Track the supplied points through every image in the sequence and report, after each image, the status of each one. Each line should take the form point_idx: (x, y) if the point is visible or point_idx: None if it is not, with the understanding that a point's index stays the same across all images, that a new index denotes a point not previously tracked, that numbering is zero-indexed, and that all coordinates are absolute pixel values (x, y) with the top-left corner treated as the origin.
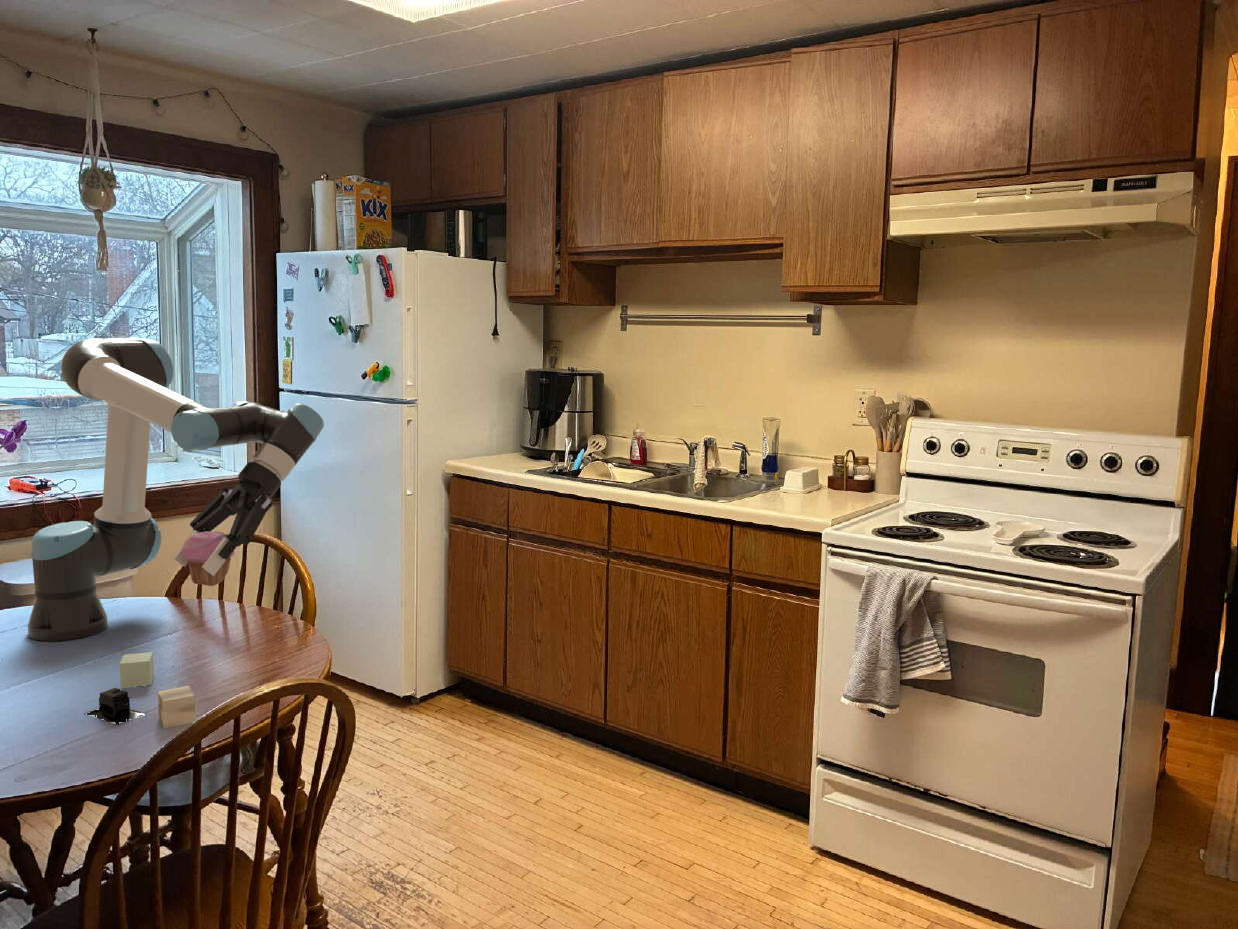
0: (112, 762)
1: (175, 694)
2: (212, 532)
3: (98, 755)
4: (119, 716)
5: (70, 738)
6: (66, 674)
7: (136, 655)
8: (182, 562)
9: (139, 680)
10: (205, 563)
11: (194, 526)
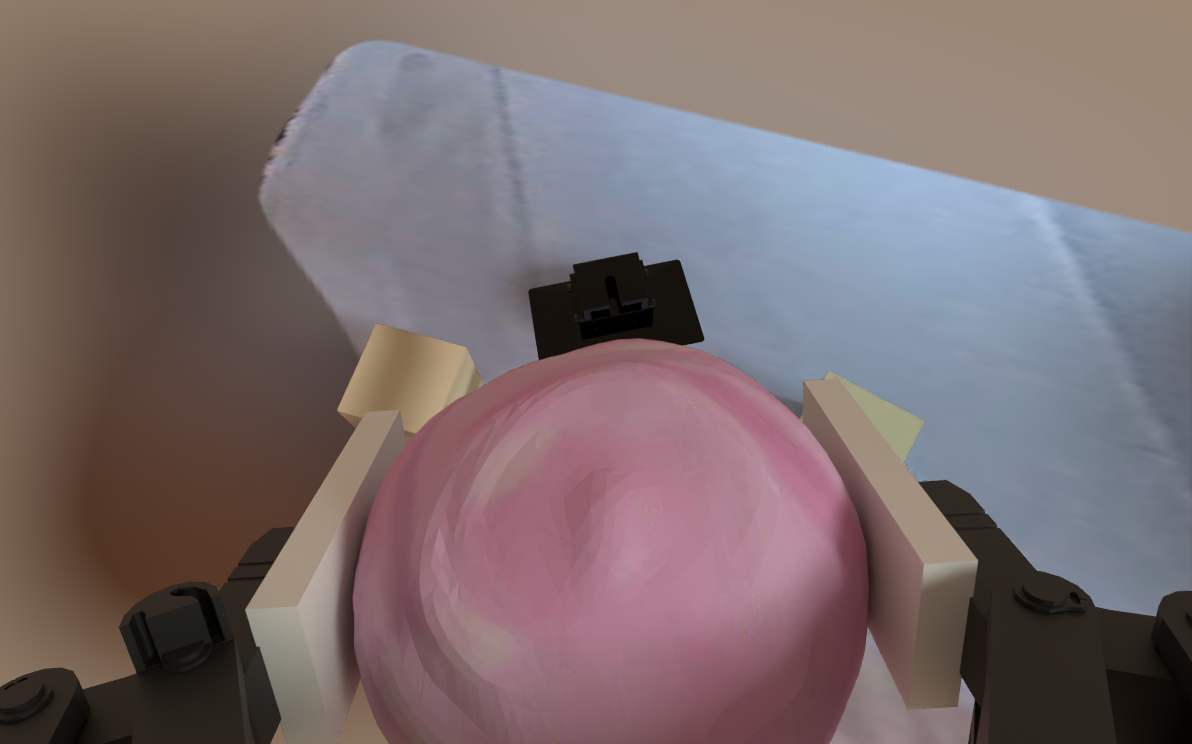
0: (326, 201)
1: (394, 372)
2: (570, 599)
3: (389, 195)
4: (570, 307)
5: (541, 187)
6: (1065, 338)
7: None
8: None
9: None
10: (375, 428)
11: (1067, 591)
